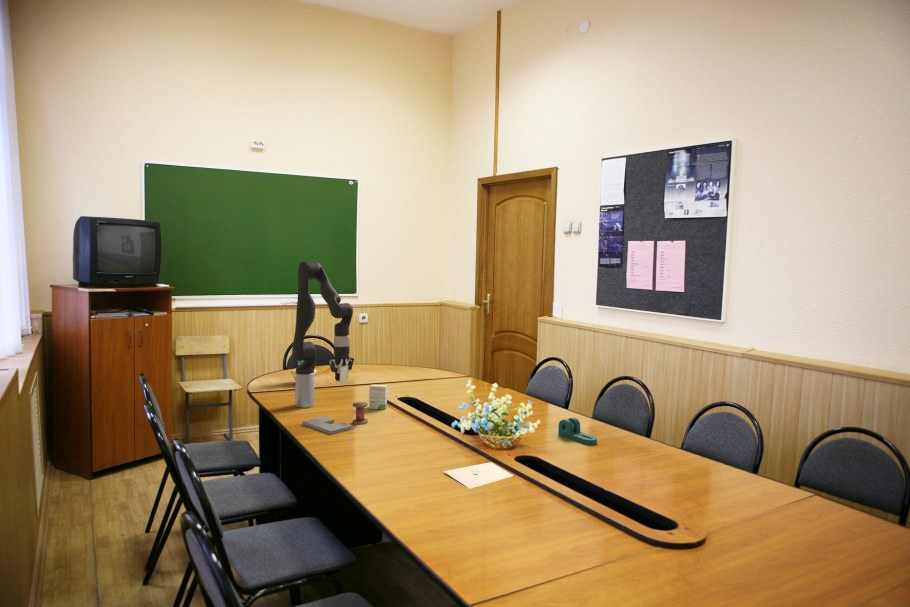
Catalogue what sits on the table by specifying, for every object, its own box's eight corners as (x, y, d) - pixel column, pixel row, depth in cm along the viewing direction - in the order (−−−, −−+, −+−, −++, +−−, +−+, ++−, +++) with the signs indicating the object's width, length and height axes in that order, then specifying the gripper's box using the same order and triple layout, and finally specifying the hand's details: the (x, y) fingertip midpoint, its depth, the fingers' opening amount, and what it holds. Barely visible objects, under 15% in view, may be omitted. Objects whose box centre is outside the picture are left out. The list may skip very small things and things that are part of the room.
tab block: (335, 382, 288) (335, 366, 288) (342, 381, 291) (342, 364, 291) (340, 383, 286) (340, 367, 285) (347, 382, 289) (347, 366, 288)
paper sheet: (496, 463, 231) (496, 460, 231) (538, 493, 205) (539, 490, 205) (441, 471, 220) (441, 469, 220) (478, 504, 194) (478, 501, 194)
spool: (349, 422, 282) (349, 403, 281) (361, 419, 287) (361, 400, 286) (358, 425, 277) (358, 406, 276) (370, 422, 282) (370, 403, 281)
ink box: (368, 409, 306) (368, 386, 305) (371, 406, 311) (371, 384, 310) (385, 409, 305) (385, 386, 304) (387, 407, 310) (387, 384, 309)
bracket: (558, 435, 267) (558, 418, 266) (568, 432, 271) (569, 415, 270) (589, 446, 253) (590, 428, 252) (600, 443, 257) (600, 425, 256)
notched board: (302, 424, 277) (302, 421, 277) (324, 419, 286) (324, 416, 286) (331, 434, 262) (331, 431, 262) (352, 428, 271) (352, 425, 271)
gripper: (348, 342, 295) (348, 376, 296) (324, 345, 284) (324, 380, 286) (358, 344, 290) (358, 379, 291) (334, 347, 279) (334, 383, 281)
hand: (341, 379), depth 288 cm, fingers closed on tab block, 4 cm apart
